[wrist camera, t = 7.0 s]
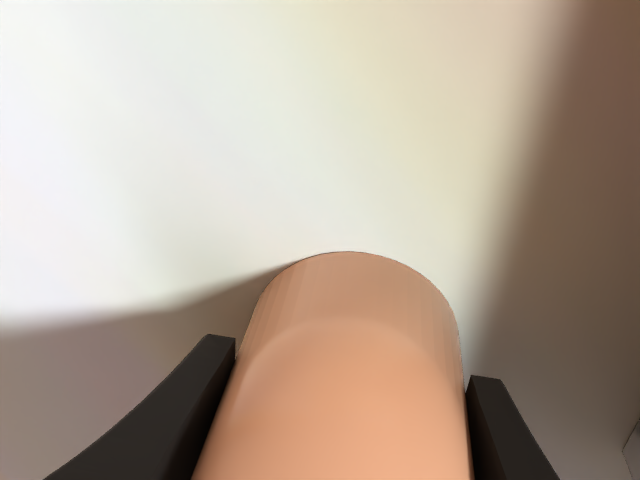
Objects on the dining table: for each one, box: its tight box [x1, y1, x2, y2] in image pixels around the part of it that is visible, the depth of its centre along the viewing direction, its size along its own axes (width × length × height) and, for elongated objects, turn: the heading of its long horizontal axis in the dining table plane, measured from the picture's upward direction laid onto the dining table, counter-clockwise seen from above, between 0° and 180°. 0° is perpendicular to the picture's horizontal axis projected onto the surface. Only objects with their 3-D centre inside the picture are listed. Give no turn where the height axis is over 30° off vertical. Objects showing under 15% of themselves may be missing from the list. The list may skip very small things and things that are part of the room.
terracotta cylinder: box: [191, 252, 475, 480], centre depth 11 cm, size 5×5×7 cm
